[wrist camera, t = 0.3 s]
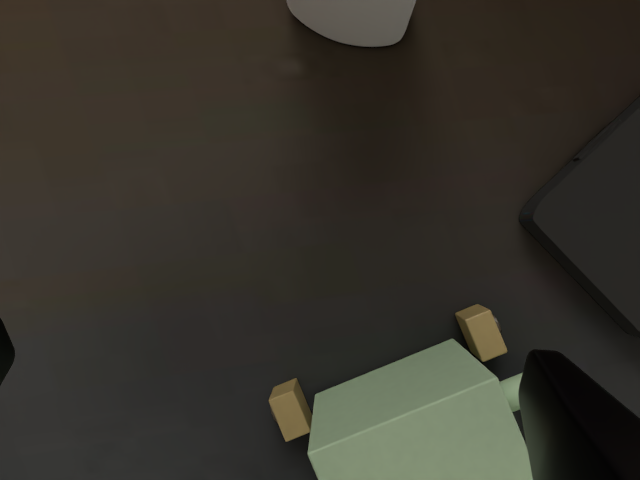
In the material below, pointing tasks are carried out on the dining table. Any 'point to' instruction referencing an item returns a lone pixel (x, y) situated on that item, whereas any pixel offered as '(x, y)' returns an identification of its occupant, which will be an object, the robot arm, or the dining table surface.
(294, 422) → the pivot stand
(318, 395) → the jug
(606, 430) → the robot arm
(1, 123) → the dining table surface
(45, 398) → the dining table surface
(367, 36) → the eye dropper bottle
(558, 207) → the smart home device
